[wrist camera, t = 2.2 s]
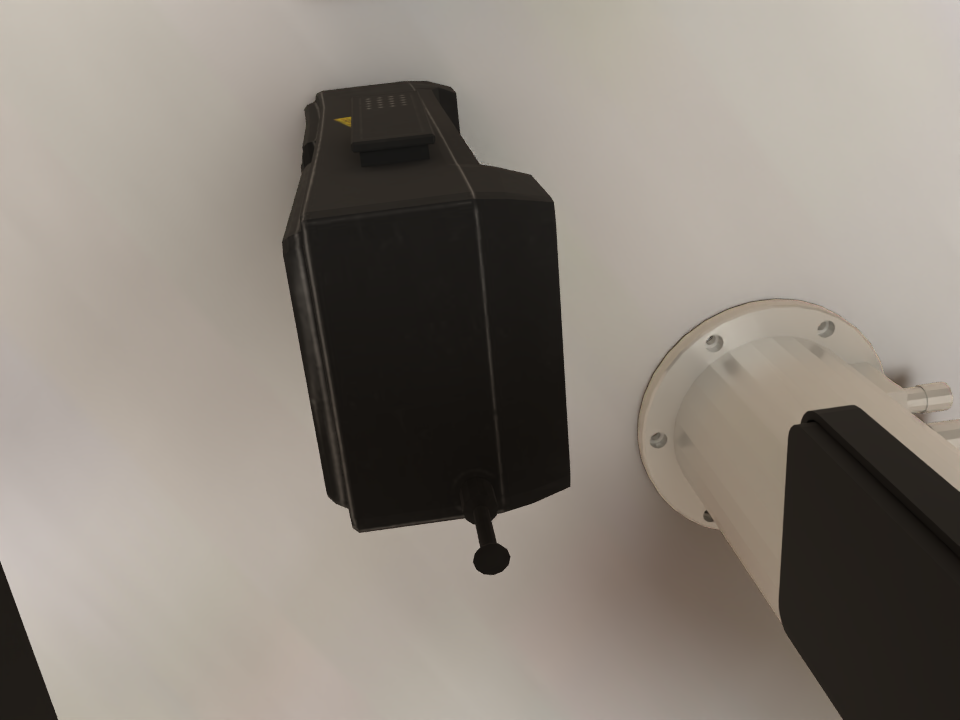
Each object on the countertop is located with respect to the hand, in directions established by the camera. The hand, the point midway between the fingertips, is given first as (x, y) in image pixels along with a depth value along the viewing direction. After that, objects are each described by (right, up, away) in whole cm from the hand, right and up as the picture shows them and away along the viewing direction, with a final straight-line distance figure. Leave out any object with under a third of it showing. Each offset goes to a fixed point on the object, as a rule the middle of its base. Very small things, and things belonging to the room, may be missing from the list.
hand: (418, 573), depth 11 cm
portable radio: (-3, +11, +28) cm, 30 cm away
